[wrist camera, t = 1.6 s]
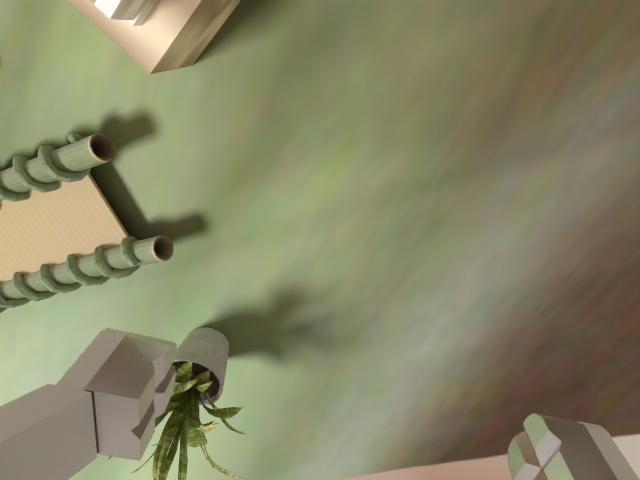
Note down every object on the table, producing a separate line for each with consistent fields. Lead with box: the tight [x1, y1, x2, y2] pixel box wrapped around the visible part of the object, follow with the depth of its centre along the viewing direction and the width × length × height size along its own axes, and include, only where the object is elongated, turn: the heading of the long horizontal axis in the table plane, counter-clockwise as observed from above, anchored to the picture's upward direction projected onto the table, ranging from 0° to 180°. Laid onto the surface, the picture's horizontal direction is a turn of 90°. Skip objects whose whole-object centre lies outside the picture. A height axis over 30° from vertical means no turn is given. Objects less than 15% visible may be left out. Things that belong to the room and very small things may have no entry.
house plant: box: [109, 327, 245, 480], centre depth 41 cm, size 14×14×16 cm
